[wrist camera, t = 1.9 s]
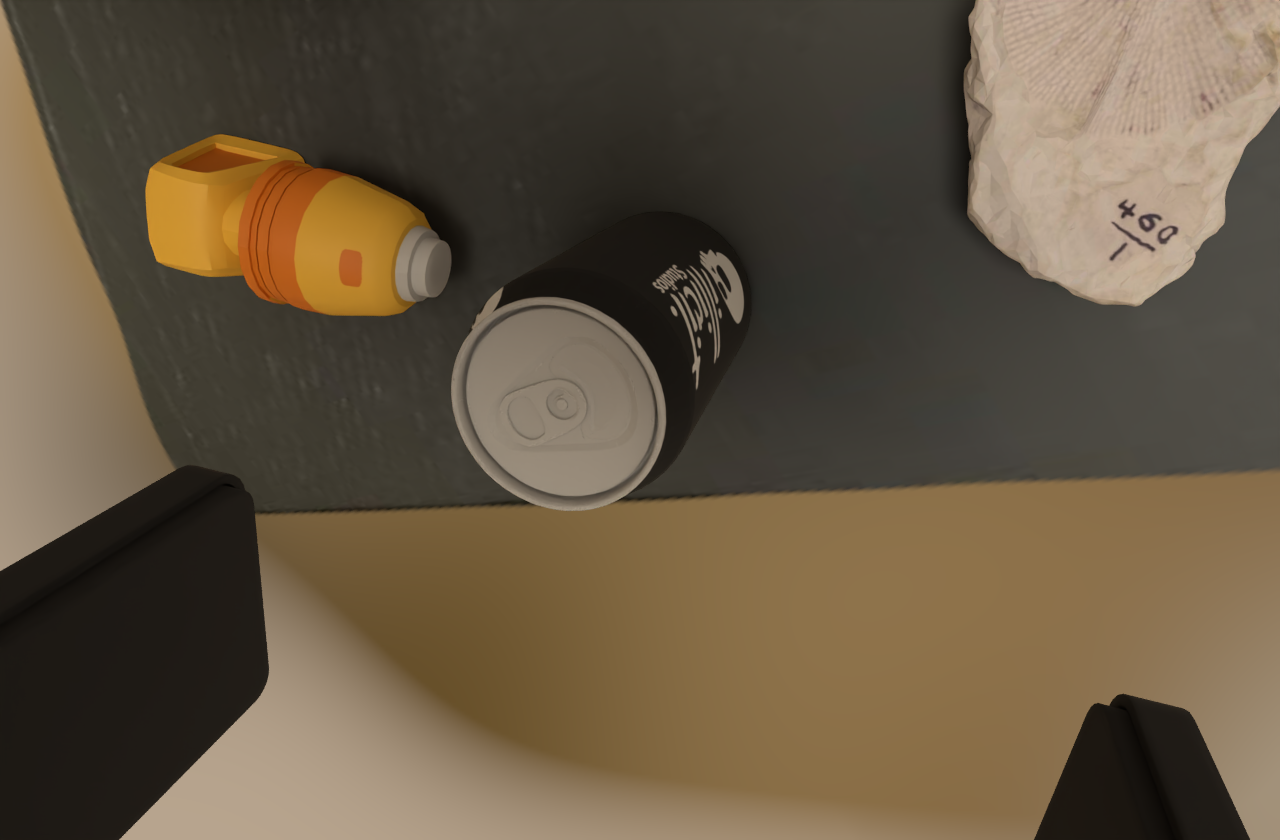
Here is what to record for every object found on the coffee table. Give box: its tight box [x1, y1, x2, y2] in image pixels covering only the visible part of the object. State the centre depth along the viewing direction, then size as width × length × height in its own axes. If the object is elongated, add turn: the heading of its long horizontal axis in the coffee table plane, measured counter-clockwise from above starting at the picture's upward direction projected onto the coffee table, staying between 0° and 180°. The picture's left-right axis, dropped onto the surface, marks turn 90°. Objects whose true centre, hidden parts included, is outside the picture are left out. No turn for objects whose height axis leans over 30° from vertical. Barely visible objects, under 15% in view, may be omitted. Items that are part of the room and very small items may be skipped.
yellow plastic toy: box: [146, 134, 451, 316], centre depth 32 cm, size 5×6×12 cm
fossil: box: [964, 0, 1280, 307], centre depth 24 cm, size 9×6×10 cm
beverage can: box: [451, 212, 751, 511], centre depth 27 cm, size 7×7×12 cm
